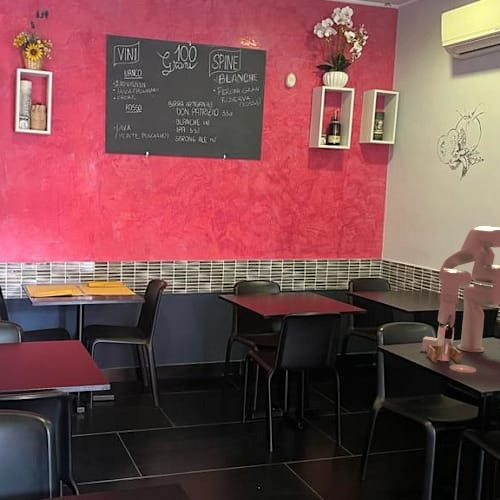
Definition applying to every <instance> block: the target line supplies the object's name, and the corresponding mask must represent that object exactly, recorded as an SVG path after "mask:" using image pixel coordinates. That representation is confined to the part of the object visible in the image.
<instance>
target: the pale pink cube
mask: <svg viewBox="0 0 500 500" xmlns="http://www.w3.org/2000/svg"><path fill="white" fill-rule="evenodd" d="M421 344H422V347H421V351H422V352H425V351H426V352H425V353H427V352H428V345H436V346H438V341H437V337H432V336H424V337H423V338H422V343H421Z"/></svg>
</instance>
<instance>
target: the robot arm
mask: <svg viewBox="0 0 500 500" xmlns="http://www.w3.org/2000/svg"><path fill="white" fill-rule="evenodd" d="M492 248H500V227H496V226H495V227H494V226H484V225H480V226H476V227H474V228H472V229H470V230H469V232H468V234H467V236H466V237H465V240H464V241H463V244H462V246H461V249H460V250H459V251H457V252H454V253H452V255H449V257H447V258H446V260H445V261H444V262H443V264H442V266H441V267H440V270H439V273H438V281H439V283H441V286H440V287H441V288H440V295H439V296H440V297H439V302H440V304H439V310H438V314H437V315H438V316H437V322H439V324H438V327H439V326H441V325H445V326H446V330H445V339H452V335H453V327H454V324H455V320H456V307H457V306H456V304H457V303H458V299H459V291H460V290H459V289H460V288H464V289H463V293H462V295H463V297H462V298H463V314H462V315H463V317H462V327H461V328H462V329H461V335H460V336H461V337H460V343H459V344H456V347H457V348H456V349H457V350H458V349H459V351H460V350H461V351H464V352H470V353H483V352H485V348H484V347H483V346H482V343H483V333H484V323H485V312H484V310H483V308H482V306H483V307H487V308H488V307H489V308H497V307H499V306H500V265H497V264H494V262H495V261H494V260H495V256H496V255H495V252H494V250H493V249H492ZM472 262H473V267H472V270H471V273H470V272H469V271H468V270H467V271H466V270H461V269H454V268H456V267H458V266H461V265H465V264H470V263H472ZM472 281H474V282H475V283H480V284H475V283H472ZM471 283H472V284H471ZM483 284H485V285H483ZM489 285H491V286H489ZM454 328H455V327H454Z"/></svg>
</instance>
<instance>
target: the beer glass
mask: <svg viewBox="0 0 500 500" xmlns="http://www.w3.org/2000/svg"><path fill="white" fill-rule="evenodd" d="M445 330H446V326H445V325H441V326H439V325H438V330H437V337H436V338H437V341H438V354H437V357H436V361H439V360H440V362H445V361H448V362H450V361H451V358H450V351H451V347H452V346H453V342H454V337H455V336H454V335H455V327H453V335H452V339H445Z"/></svg>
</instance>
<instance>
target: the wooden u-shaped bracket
mask: <svg viewBox="0 0 500 500" xmlns="http://www.w3.org/2000/svg"><path fill="white" fill-rule="evenodd" d="M426 353H427V354H426V356H427V357H428V358H429V359H430V360H431V361H432V362H433V363H435V362H436V363H437V359H436V358H437V354H438V346H436V345H428V352H426ZM450 357H451V358H450V359H452V360H453V361H455V362H456V363H457V365H461V361H462V352H461V351H460V350H458V348H456V347H455V346H453V345H452V347H451V351H450Z"/></svg>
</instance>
